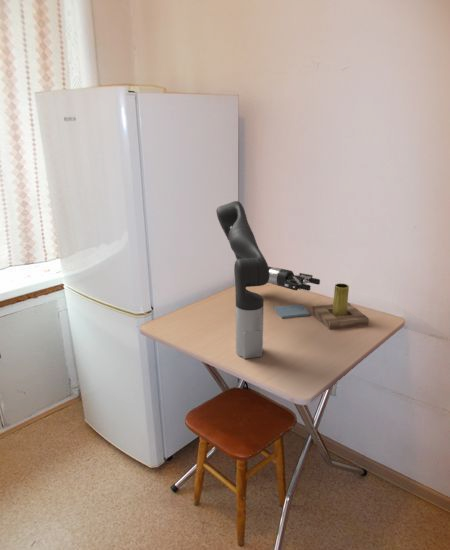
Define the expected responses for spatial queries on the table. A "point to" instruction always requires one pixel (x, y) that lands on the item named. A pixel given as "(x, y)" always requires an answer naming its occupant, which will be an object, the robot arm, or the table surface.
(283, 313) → the slate mat
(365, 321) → the socket stand
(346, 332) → the table surface
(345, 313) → the vase
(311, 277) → the robot arm
